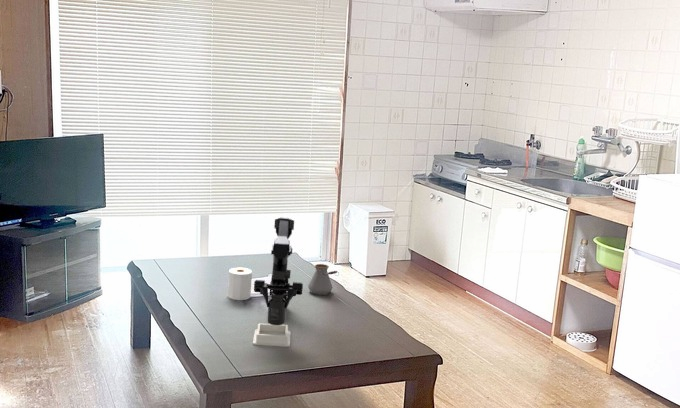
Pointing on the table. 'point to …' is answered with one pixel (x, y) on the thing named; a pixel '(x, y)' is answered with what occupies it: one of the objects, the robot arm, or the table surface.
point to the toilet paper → (239, 283)
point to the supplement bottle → (277, 308)
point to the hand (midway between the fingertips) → (276, 307)
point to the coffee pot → (321, 280)
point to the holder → (272, 335)
